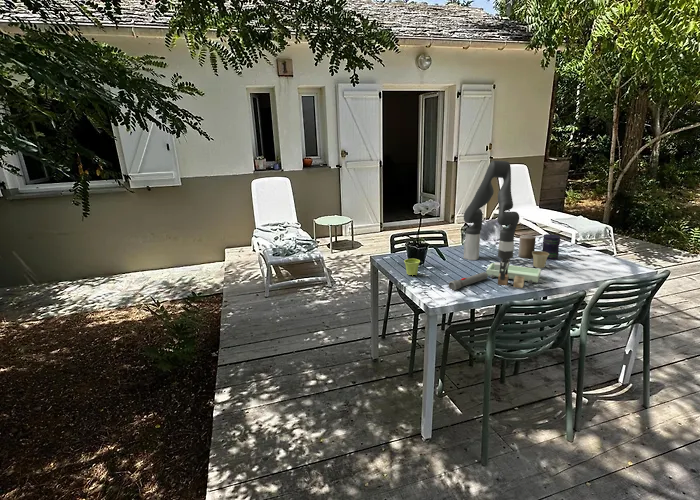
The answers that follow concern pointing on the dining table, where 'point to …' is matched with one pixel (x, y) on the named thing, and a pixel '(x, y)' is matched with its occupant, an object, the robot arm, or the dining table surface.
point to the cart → (516, 273)
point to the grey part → (497, 266)
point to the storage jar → (551, 246)
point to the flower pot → (539, 258)
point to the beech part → (518, 282)
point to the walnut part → (503, 282)
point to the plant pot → (412, 266)
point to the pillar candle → (526, 246)
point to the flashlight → (467, 281)
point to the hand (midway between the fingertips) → (503, 277)
